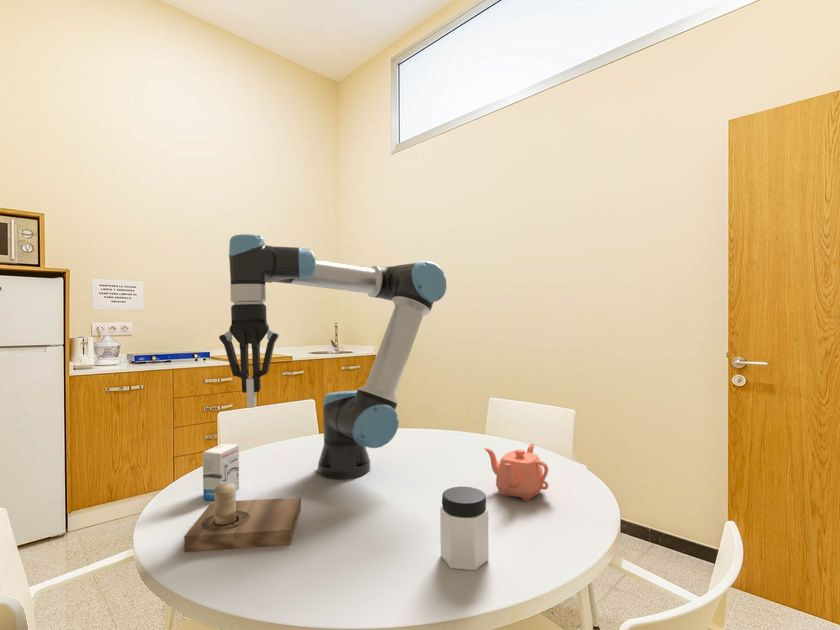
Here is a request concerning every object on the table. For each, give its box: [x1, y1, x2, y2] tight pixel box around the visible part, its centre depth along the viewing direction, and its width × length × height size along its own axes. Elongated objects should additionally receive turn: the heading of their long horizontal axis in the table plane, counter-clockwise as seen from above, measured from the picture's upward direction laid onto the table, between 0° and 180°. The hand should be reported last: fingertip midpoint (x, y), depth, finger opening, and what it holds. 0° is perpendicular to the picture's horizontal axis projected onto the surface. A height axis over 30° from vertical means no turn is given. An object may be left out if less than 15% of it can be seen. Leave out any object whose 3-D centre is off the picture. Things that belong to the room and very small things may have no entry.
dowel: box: [214, 483, 237, 526], centre depth 94 cm, size 4×4×10 cm
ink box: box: [202, 443, 240, 501], centre depth 116 cm, size 9×5×12 cm, turn 168°
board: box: [183, 496, 302, 553], centre depth 97 cm, size 20×16×3 cm
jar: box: [439, 486, 490, 571], centre depth 85 cm, size 9×8×12 cm
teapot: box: [483, 443, 549, 502], centre depth 115 cm, size 14×14×11 cm
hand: (251, 406), depth 104 cm, fingers closed
